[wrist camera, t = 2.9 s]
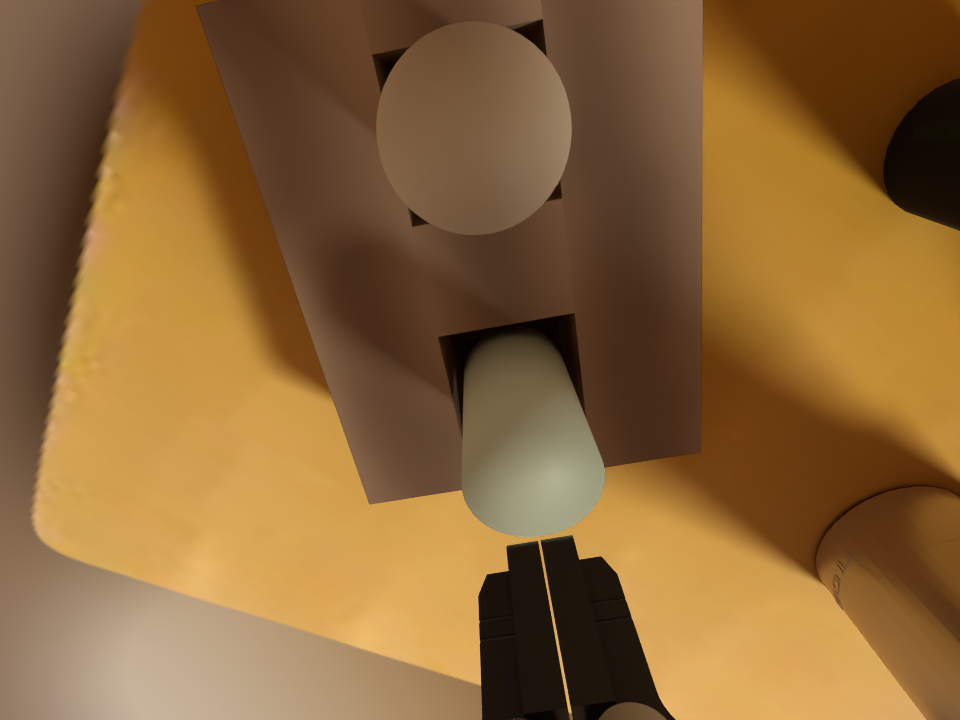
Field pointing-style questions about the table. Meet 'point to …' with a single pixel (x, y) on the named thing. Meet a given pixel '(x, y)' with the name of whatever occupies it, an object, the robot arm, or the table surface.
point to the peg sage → (526, 437)
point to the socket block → (490, 257)
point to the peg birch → (473, 128)
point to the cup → (928, 158)
